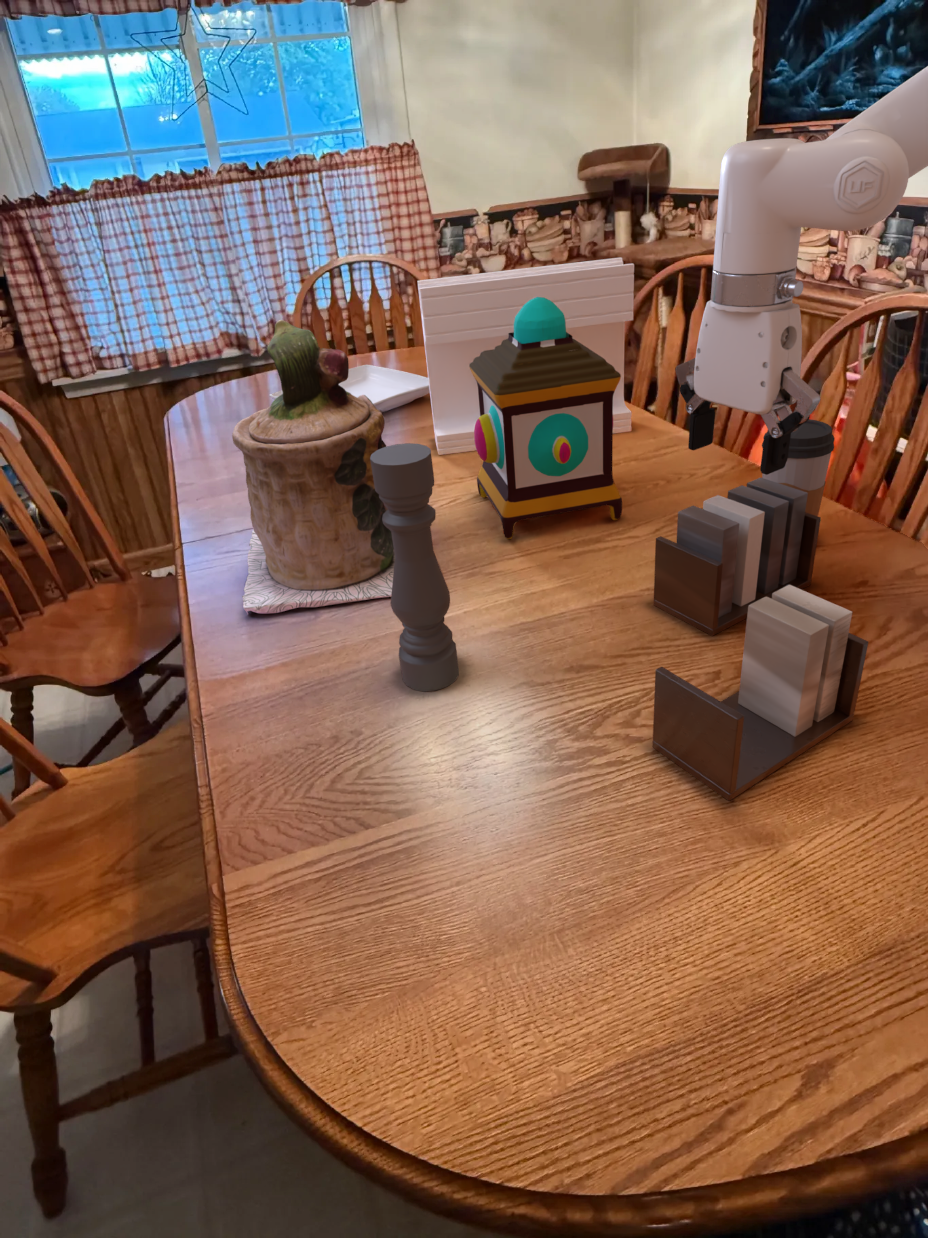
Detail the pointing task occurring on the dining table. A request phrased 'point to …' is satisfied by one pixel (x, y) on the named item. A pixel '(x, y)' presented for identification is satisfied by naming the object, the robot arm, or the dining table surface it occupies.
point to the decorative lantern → (544, 421)
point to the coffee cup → (807, 462)
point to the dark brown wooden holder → (733, 556)
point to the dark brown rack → (765, 695)
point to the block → (484, 315)
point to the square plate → (383, 386)
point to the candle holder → (415, 566)
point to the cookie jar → (313, 485)
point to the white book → (742, 544)
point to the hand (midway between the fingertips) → (735, 458)
